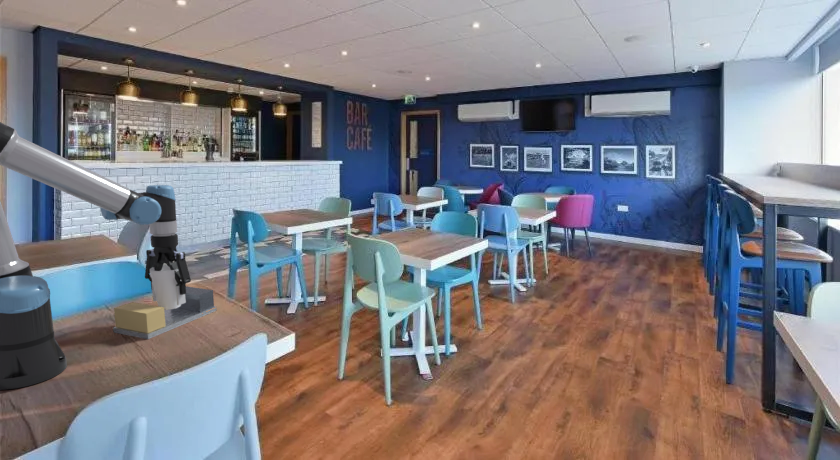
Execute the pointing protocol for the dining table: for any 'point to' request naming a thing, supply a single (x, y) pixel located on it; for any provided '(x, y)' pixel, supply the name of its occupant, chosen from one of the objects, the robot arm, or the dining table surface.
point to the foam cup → (165, 287)
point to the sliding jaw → (139, 317)
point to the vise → (180, 312)
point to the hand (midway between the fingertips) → (169, 301)
